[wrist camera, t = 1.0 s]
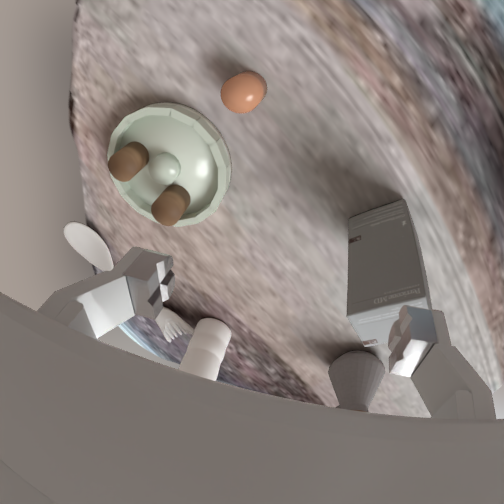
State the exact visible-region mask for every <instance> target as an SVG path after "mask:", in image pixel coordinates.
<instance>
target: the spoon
mask: <svg viewBox="0 0 504 504" xmlns="http://www.w3.org/2000/svg"><path fill="white" fill-rule="evenodd" d="M64 236H65V238H66V239H67V241H68V242H69V244H70V245H71V246H72V247H73V248H74V249H75V250H76V251H77V252H78V253H79V254H80V255H82V256H83V257H84V258H85V259H87V260H88V261H89V262H90V263H92V264H93V265H95V266H96V267H98V268H99V269H101V270H102V271H103V272H104V271H111V270H112V269H113V268H114V265H113V260H112V257H111V254H110V251H109V249H108V247H107V245H106V244H105V242H104V241H103V239H102V238H101V237H100V236H99V235H98V234H97V233H96V232H95V231H94V230H92V229H91V228H90V227H88V226H86V225H84V224H82V223H79V222H75V221H72V222H69V223H67V224H66V226H65V227H64ZM155 321H156V322H157V324H158V326H159V327H160V329H161V331H162V333H163V334H164V336H165V338H166V339H167V341H168V342H171V338H172V339H174V336H173V334H174V335H175V336H176V337H177V334H176V332H175V330H176V331H177V332H178V333H179V334H180V335H182V332H181V330H182V331H183V332H184V333H185V334H187V333H188V334H191V333H192V334H194V329H193V328H192V327H191V326H190V325H189V324H187V323H186V322H185V321H184V320H183V319H181V318H180V317H179V316H178V315H177V314H176V313H174V312H173V311H171V310H170V309H168V308H166V307H163V309H162V310H161V312H160V313H159V315H158V316H157V318H156V319H155ZM174 329H175V330H174ZM180 329H181V330H180ZM190 332H191V333H190ZM172 333H173V334H172ZM170 337H171V338H170Z"/></svg>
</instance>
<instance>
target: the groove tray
mask: <svg viewBox="0 0 504 504" xmlns="http://www.w3.org/2000/svg"><path fill="white" fill-rule="evenodd" d="M133 141H136V142H139V143H141V144H143V145H144V146H145V147H146V149H147V150H148V153H149V162H148V164H147V165H146V166H145V167H144V168H143V169H142V170H141V171H139V172H138V173H137V174H136V175H135V176H134V177H133V178H132V179H131V180H129V181H127V182H121V181H119V180H117V179H115V178H114V177H113V176H112V174H111V173H110V176H111V178H112V180H113V182H114V183H115V185H116V187H117V189H118V191H119V193H120V195H122V197H123V198H124V199H125V200H126V201H127V202H128V203H129V204H130V205H131V206H132V207H133V208H134V210H135V211H136V212H138V213H140V214H141V215H143V216H145V217H147V218H149V219H151V220H152V221H154V222H156V223H159V222H158V221H156V220H155V218H154V217H153V215H152V212H151V206H152V204H153V203H154V201H155V200H156V199H157V198H158V197H159V196H160V195H161V193H162V192H163V191H164V190H165V189H166V188H167V187H168V186H169V185H173V184H176V185H180V186H182V187H184V188H185V189H186V190H187V191H188V193H189V195H190V198H191V202H190V205H189V206H188V208H187V209H186V211H185V212H184V213H183V215H182V216H181V218H180V219H179V220H178V222H177V223H176V224H175V225H172V226H175V227H181V226H187V225H192V224H198V223H200V222H201V221H203V220H204V219H206V218H207V217H208V216H210V215H211V214H213V213H214V212H216V210H217V208H218V206H219V205H220V203H221V201H222V199H223V197H224V195H225V194H226V192H227V190H228V188H229V184H230V180H231V174H232V163H231V157H230V153H229V150H228V147H227V145H226V142H225V140H224V138H223V137H222V135H221V133H220V132H219V131H218V129H217V128H216V127H215V126H214V124H213V123H212V122H210V121H209V120H208V119H207V118H206V117H205V116H203V115H202V114H201V113H199V112H197V111H196V110H194V109H192V108H190V107H187V106H185V105H181V104H177V103H170V102H162V103H155V104H151V105H148V106H145V107H143V108H141V109H139V110H137V111H135V112H133V113H131V114H129V115H127V116H125V117H124V119H123V120H122V121H121V122H120V124H119V125H118V126H117V127H116V129H115V130H114V131H113V133H112V135H111V139H110V144H109V148H108V153H107V157H108V161H109V158H110V157H111V156H112V155H113V154H115V153H116V152H117V151H119V150H120V149H121V148H123V147H124V146H125V145H127V144H128V143H130V142H133Z"/></svg>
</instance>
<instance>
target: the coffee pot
mask: <svg viewBox="0 0 504 504" xmlns="http://www.w3.org/2000/svg"><path fill="white" fill-rule="evenodd" d="M328 374H329V377H330V380H331V382H332V385H333V388H334V391H335V393H336V396H337V399H338V401H339V404H340V405H339V406H337V407H335V408H340V409H347V410H354V411H361V412H368V407H369V405H370V403H371V401H372V399H373V397H374V395H375V393H376V391H377V389H378V387H379V385H380V383H381V381H382V379H383V376H384V374H385V367H384V365H383V363H382V362H381V360H379V359H378V358H377V357H376V356H374V355H373V354H371V353H369V352H366V351H351V352H347V353H345V354H343V355H342V356H340V357H339V358H337V359H336V360H335V361H334V362H333V363H332V364H331V366H330V367H329V371H328Z"/></svg>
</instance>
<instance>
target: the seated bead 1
mask: <svg viewBox="0 0 504 504" xmlns="http://www.w3.org/2000/svg"><path fill="white" fill-rule="evenodd" d="M148 162H149V153H148V150H147V149H146V147H145V146H144V145H143V144H141V143H139V142H136V141H133V142H130V143H128V144H127V145H125V146H124V147H123V148H121V149H120V150H119V151H117V152H116V153H115V154H113V155H112V156H111V157H110V158H109V161H108V168H109V171H110V173H111V174H112V176H113V177H114V178H115V179H117V180H119V181H121V182H127V181H129V180H131V179H132V178H133V177H134V176H135V175H136V174H137V173H138V172H139V171H141V170H142V169H143V168H144V167H145V166H146V165H147V164H148Z"/></svg>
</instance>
